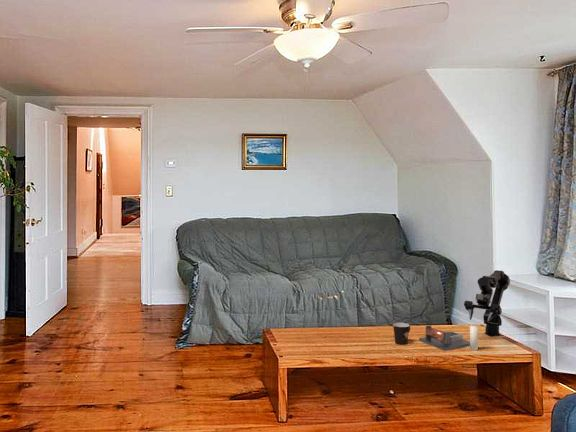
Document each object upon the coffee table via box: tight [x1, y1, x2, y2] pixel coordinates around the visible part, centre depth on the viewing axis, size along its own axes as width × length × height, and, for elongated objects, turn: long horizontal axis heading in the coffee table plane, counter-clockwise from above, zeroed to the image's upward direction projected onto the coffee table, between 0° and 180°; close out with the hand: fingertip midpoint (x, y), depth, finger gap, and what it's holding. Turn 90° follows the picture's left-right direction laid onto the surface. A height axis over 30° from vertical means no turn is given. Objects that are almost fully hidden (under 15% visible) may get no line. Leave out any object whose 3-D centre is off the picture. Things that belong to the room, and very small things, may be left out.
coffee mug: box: [392, 322, 411, 346], centre depth 282 cm, size 12×9×10 cm
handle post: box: [469, 325, 479, 351], centre depth 270 cm, size 4×4×12 cm
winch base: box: [418, 324, 470, 352], centre depth 281 cm, size 20×20×8 cm
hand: (478, 320), depth 276 cm, fingers open, 9 cm apart
